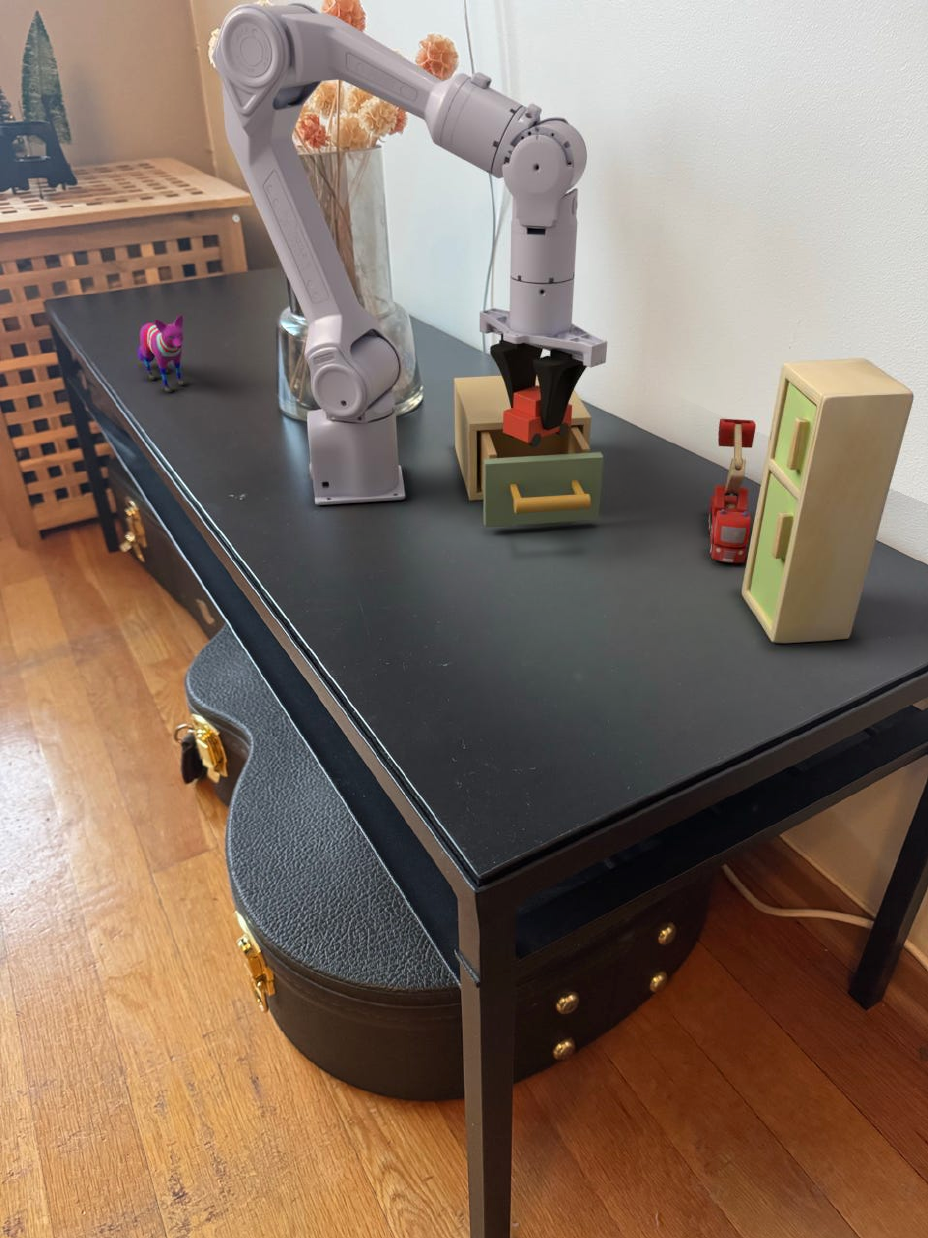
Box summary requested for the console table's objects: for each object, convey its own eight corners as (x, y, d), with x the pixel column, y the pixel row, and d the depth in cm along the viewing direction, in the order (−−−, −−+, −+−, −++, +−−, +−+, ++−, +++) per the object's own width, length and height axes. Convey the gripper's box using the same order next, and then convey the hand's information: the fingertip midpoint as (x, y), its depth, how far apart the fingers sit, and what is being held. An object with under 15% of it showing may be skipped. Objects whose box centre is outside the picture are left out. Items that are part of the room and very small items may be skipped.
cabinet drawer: (610, 543, 86) (616, 478, 82) (491, 551, 85) (492, 485, 81) (571, 467, 100) (575, 408, 96) (469, 473, 99) (469, 414, 95)
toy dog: (177, 403, 120) (161, 324, 114) (131, 367, 132) (115, 294, 126) (203, 396, 122) (189, 319, 116) (156, 361, 134) (141, 290, 128)
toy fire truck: (709, 565, 84) (725, 470, 79) (706, 499, 95) (720, 412, 90) (746, 568, 84) (764, 472, 78) (739, 502, 95) (755, 414, 89)
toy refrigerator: (730, 593, 80) (773, 360, 68) (810, 588, 81) (867, 356, 69) (762, 646, 74) (816, 398, 62) (849, 640, 74) (920, 393, 62)
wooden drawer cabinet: (586, 493, 97) (591, 417, 92) (469, 500, 96) (468, 423, 91) (560, 442, 108) (563, 372, 103) (455, 448, 107) (454, 377, 102)
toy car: (528, 450, 86) (529, 404, 84) (502, 439, 88) (502, 394, 86) (571, 433, 90) (573, 389, 87) (545, 423, 92) (546, 379, 89)
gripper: (454, 269, 83) (457, 410, 90) (571, 300, 74) (563, 454, 81) (510, 256, 87) (508, 393, 94) (627, 284, 78) (614, 433, 85)
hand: (536, 420), depth 88 cm, fingers closed on toy car, 3 cm apart
